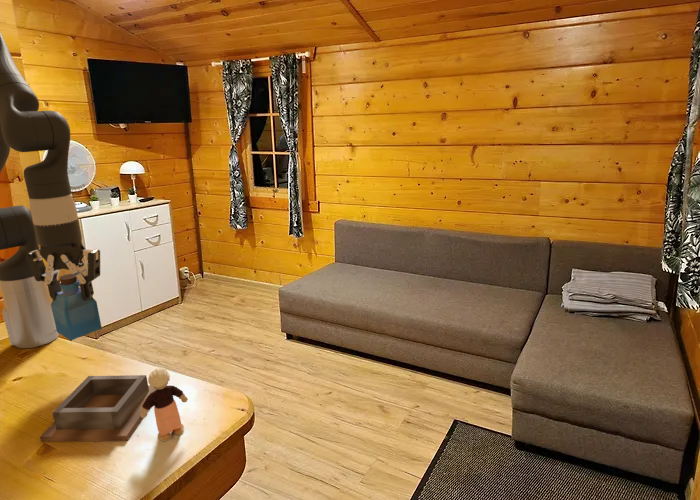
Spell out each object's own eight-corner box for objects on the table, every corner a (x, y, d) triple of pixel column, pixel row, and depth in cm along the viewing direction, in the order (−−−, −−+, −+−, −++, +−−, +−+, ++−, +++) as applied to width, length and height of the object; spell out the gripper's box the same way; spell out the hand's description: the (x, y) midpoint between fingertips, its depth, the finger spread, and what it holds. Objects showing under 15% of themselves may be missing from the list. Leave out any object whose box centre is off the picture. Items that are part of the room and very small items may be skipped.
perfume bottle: (71, 340, 96) (58, 284, 92) (57, 332, 99) (44, 278, 95) (101, 328, 100) (91, 275, 97) (87, 321, 104) (76, 269, 100)
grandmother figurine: (182, 418, 87) (171, 356, 83) (194, 427, 84) (184, 363, 81) (141, 442, 81) (128, 376, 77) (153, 451, 79) (141, 384, 75)
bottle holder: (41, 441, 82) (35, 419, 81) (88, 390, 96) (84, 371, 95) (127, 440, 81) (122, 418, 80) (162, 389, 96) (159, 370, 94)
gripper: (102, 213, 96) (116, 291, 101) (31, 214, 96) (49, 292, 101) (81, 223, 89) (98, 306, 94) (5, 224, 89) (26, 307, 94)
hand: (72, 298), depth 98 cm, fingers closed on perfume bottle, 5 cm apart
